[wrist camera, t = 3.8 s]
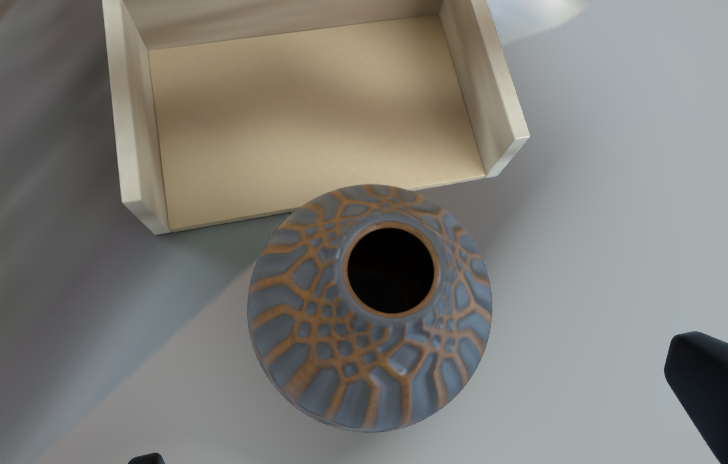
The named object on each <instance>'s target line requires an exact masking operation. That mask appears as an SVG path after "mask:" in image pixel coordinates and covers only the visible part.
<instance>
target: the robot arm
mask: <svg viewBox="0 0 728 464" xmlns="http://www.w3.org/2000/svg"><path fill="white" fill-rule="evenodd" d="M664 373H665V377H666V380H667V382H668V384H669V385H670V387H671V389H672V390H673V392H674V393H675V395H676V396H677V398H678V399H679V401H680V402H681V404H682V406H683V407H684V409H685V410H686V412H687V414H688V415H689V417H690V418H691V420H692V421H693V423H694V425H695V426H696V428H697V429H698V431H699V432H700V434H701V435H702V437H703V438H704V440H705V441H706V443H707V445H708V446H709V448H710V449H711V451H712V452H713V454H714V455H715V457H716V458H717V459H718V461H719V462H720V463H721V464H728V343H726V342H723V341H721V340H718V339H716V338H713V337H711V336H709V335H706V334H703V333H701V332H697V331H693V332H688V333H684V334H679V335H676V336H674V337H673V339H672V340H671V343H670V347H669V351H668V355H667V359H666V363H665V367H664ZM128 464H165V463H164V460H163V458H162V456H161V455H160V454H159V453H151V454H147V455H143V456H138V457H135V458H133V459H132V460H131V461H129V463H128Z"/></svg>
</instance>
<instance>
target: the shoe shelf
mask: <svg viewBox="0 0 728 464" xmlns="http://www.w3.org/2000/svg"><path fill="white" fill-rule="evenodd" d="M102 4H103V15H104V25H105V35H106V45H107V56H108V66H109V76H110V87H111V97H112V107H113V117H114V128H115V138H116V148H117V159H118V169H119V179H120V189H121V200H122V204H123V205H124V206H125V207H127V208H128V209H129V210H130V211H131V212H132V213H133V214H134V215H135V216H136V217H137V218H138V219H139V220H140V221H141V222H142V223H143V224H144V225H145V226H146V227H147V228H148V229H149V230H150V231H151V232H152V233H153V234H155V235H159V234H165V233H170V232H177V231H183V230H189V229H195V228H200V227H206V226H212V225H218V224H224V223H229V222H235V221H241V220H247V219H253V218H258V217H264V216H270V215H276V214H281V213H287V212H293V211H296V210H297V209H298V208H300V207H301V206H302V205H304V204H305V203H307V202H309V201H310V200H312V199H314V198H316V197H318V196H320V195H322V194H324V193H327V192H330V191H333V190H336V189H339V188H343V187H348V186H353V185H361V184H381V185H389V186H395V187H399V188H403V189H407V190H410V191H415V190H421V189H426V188H432V187H438V186H444V185H450V184H455V183H460V182H467V181H472V180H479V179H483V178H489V177H495V176H498V174H499V173H500V172H501V171H502V170H503V168H504V167H505V166H506V165H507V164H508V162H509V161H510V160H511V159H512V158H513V156H514V155H515V154H516V153H517V152H518V150H519V149H520V148H521V147H522V146H523V145H524V143H525V142H526V141H527V139H528V138H529V137H530V134H529V131H528V128H527V125H526V122H525V119H524V116H523V112H522V109H521V106H520V103H519V100H518V97H517V94H516V91H515V88H514V84H513V81H512V78H511V75H510V72H509V69H508V66H507V63H506V60H505V57H504V53H503V50H502V47H501V44H500V41H499V38H498V35H497V32H496V28H495V25H494V22H493V19H492V16H491V13H490V10H489V7H488V4H487V0H102Z"/></svg>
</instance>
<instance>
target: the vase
mask: <svg viewBox="0 0 728 464" xmlns="http://www.w3.org/2000/svg"><path fill="white" fill-rule="evenodd" d="M247 306H248V307H247V314H248V325H249V332H250V337H251V341H252V345H253V348H254V351H255V354H256V356H257V358H258V361H259V363H260V365H261V367H262V368H263V370H264V372H265V374H266V376H267V377H268V378H269V380H270V381H271V383H272V384H273V385H274V387H275V388H276V389H277V390H278V391H279V392H280V394H281V395H282V396H283V397H284V398H285V399H286V400H287V401H289V402H290V403H291V404H292V405H293V406H295V407H296V408H297V409H299V410H300V411H302V412H303V413H305V414H306V415H308V416H309V417H311V418H313V419H315V420H317V421H319V422H321V423H324V424H326V425H329V426H332V427H335V428H339V429H343V430H347V431H354V432H365V433H369V432H385V431H391V430H397V429H400V428H404V427H407V426H410V425H413V424H415V423H417V422H420V421H422V420H424V419H426V418H427V417H429V416H431V415H432V414H434V413H436V412H437V411H438V410H440V409H441V408H443V407H444V406H445V405H447V404H448V403H449V402H450V401H451V400H452V399H453V398H454V397H455V396H456V395H457V394H458V393H459V392H460V391H461V390H462V389H463V388H464V386H465V385H466V384H467V382H468V381H469V380H470V378H471V377H472V375H473V373H474V372H475V370H476V368H477V366H478V364H479V362H480V360H481V358H482V356H483V353H484V351H485V348H486V344H487V341H488V337H489V333H490V327H491V319H492V294H491V287H490V282H489V277H488V273H487V270H486V266H485V264H484V261H483V259H482V256H481V254H480V252H479V250H478V248H477V246H476V245H475V243H474V241H473V240H472V238H471V237H470V235H469V234H468V232H467V231H466V230H465V229H464V227H463V226H462V225H461V224H460V223H459V222H458V221H457V220H456V219H455V218H454V217H453V216H452V215H451V214H450V213H449V212H447V211H446V210H445V209H443V208H442V207H441V206H439V205H438V204H436V203H435V202H433V201H431V200H430V199H428V198H426V197H424V196H422V195H420V194H417V193H415V192H413V191H410V190H407V189H403V188H399V187H395V186H389V185H381V184H361V185H353V186H348V187H343V188H339V189H336V190H333V191H330V192H327V193H324V194H322V195H320V196H318V197H316V198H314V199H312V200H310V201H309V202H307V203H305V204H304V205H302V206H301V207H300V208H298V209H297V210H296V211H294V212H293V213H292V214H291V215H290V216H289V217H287V218H286V219H285V220H284V221H283V222H282V223H281V224H280V225H279V227H278V228H277V229H276V230H275V232H274V233H273V234H272V236H271V237H270V238H269V240H268V241H267V243H266V245H265V246H264V248H263V250H262V251H261V254H260V256H259V258H258V260H257V262H256V265H255V268H254V271H253V274H252V277H251V282H250V287H249V294H248V305H247Z"/></svg>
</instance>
